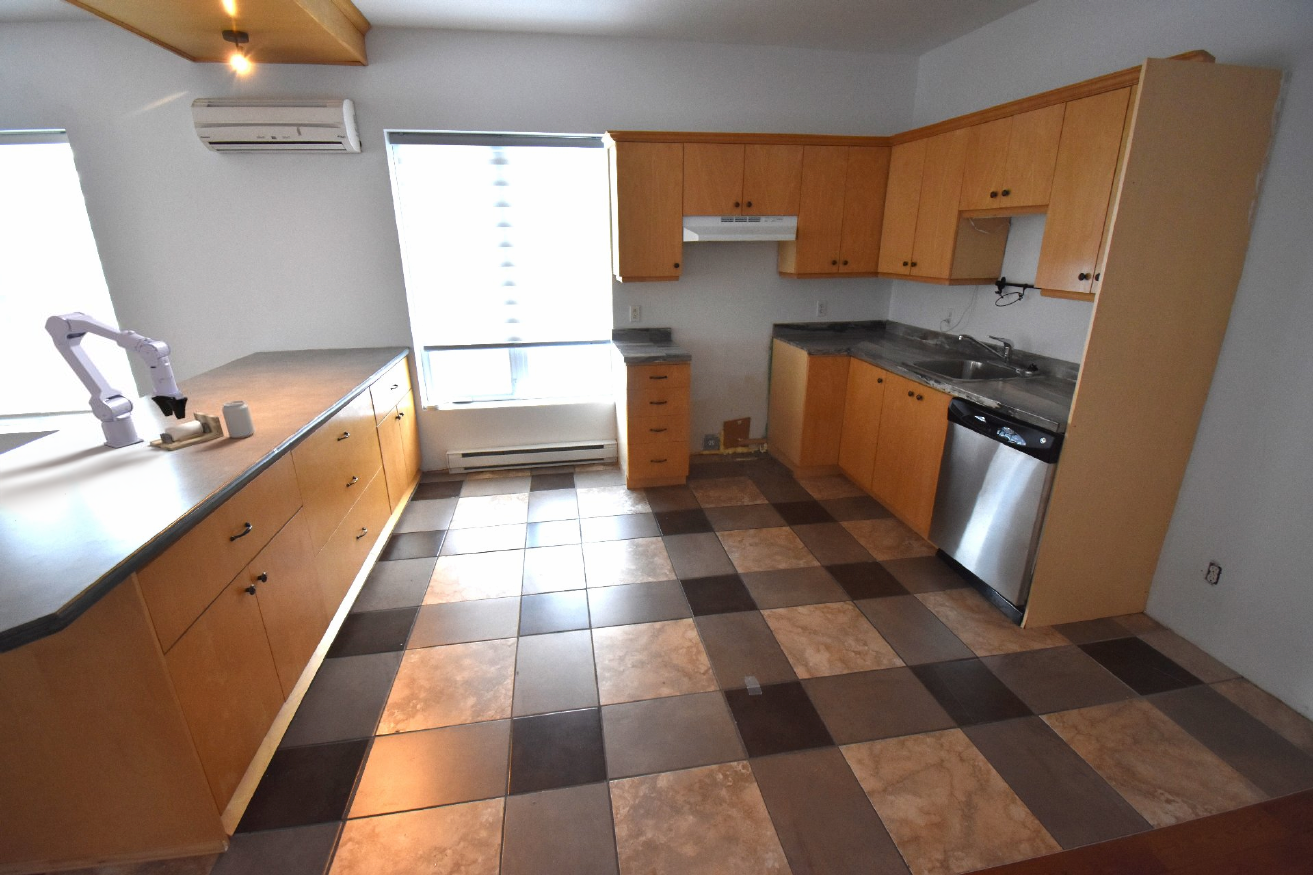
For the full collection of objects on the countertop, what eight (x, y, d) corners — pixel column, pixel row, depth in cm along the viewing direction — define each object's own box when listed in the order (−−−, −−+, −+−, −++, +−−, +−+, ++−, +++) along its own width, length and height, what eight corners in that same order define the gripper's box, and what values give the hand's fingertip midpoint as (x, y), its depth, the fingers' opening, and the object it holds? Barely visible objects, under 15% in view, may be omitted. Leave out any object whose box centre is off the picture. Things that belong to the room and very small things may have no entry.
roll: (167, 441, 201) (163, 427, 199) (196, 432, 209) (192, 419, 207) (175, 442, 199) (171, 429, 198) (204, 434, 207) (200, 421, 205)
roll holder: (150, 444, 201) (143, 425, 199) (202, 430, 214) (196, 411, 212) (171, 450, 195) (165, 430, 192) (224, 435, 208) (218, 416, 206)
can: (242, 439, 204) (233, 406, 199) (224, 438, 205) (214, 405, 201) (260, 432, 210) (251, 400, 206) (242, 431, 212) (233, 399, 208)
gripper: (137, 378, 196) (150, 417, 201) (160, 383, 190) (173, 423, 194) (162, 373, 202) (173, 412, 207) (185, 378, 196) (197, 417, 200)
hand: (175, 417), depth 201 cm, fingers open, 7 cm apart
